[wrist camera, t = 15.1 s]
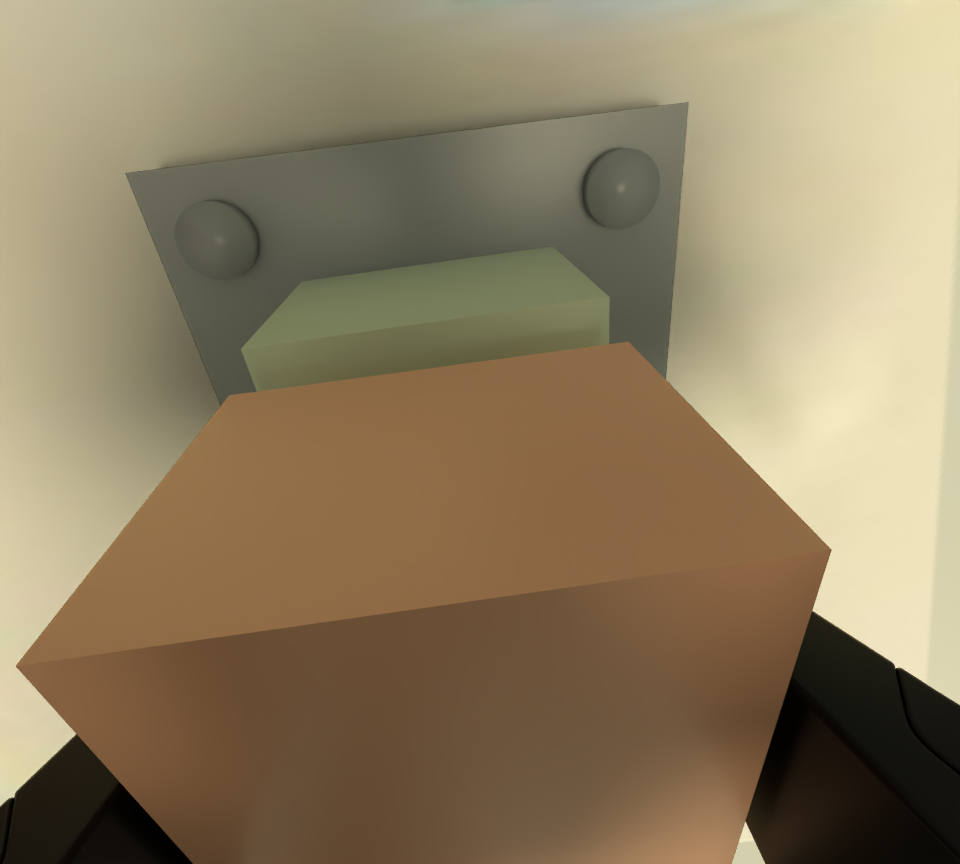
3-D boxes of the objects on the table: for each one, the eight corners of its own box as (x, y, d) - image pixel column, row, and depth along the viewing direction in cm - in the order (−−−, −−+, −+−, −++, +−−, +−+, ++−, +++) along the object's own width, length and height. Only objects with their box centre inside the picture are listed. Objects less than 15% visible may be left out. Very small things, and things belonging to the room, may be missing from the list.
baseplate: (637, 502, 18) (659, 539, 17) (302, 548, 18) (288, 592, 16) (661, 106, 12) (698, 101, 10) (158, 169, 12) (112, 174, 10)
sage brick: (561, 455, 15) (606, 565, 11) (361, 485, 15) (337, 605, 11) (552, 246, 12) (609, 296, 8) (302, 281, 12) (240, 349, 8)
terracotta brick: (617, 613, 11) (724, 885, 7) (332, 654, 11) (274, 954, 7) (628, 342, 8) (830, 549, 4) (228, 395, 8) (15, 665, 4)
